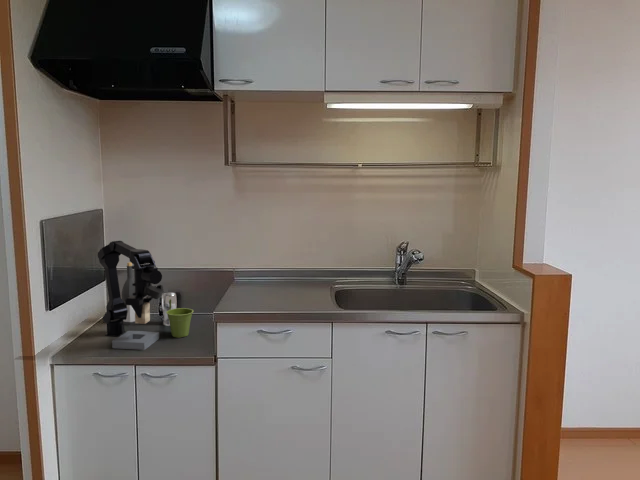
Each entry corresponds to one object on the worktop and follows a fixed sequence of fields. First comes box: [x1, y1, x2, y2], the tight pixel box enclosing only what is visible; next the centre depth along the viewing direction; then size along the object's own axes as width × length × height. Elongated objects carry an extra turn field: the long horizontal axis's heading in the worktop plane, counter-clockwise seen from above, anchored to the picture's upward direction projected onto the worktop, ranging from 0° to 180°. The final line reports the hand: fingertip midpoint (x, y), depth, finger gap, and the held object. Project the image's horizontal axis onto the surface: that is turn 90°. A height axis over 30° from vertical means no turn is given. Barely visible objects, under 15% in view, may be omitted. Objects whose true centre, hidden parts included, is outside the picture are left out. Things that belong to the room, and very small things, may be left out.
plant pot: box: [166, 307, 194, 338], centre depth 212 cm, size 12×12×11 cm
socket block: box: [111, 330, 160, 351], centre depth 201 cm, size 14×14×3 cm
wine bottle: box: [121, 261, 139, 326], centre depth 228 cm, size 8×8×30 cm
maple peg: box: [135, 302, 151, 325], centre depth 198 cm, size 4×4×8 cm
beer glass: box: [161, 291, 178, 327], centre depth 228 cm, size 7×7×15 cm
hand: (142, 316), depth 198 cm, fingers closed on maple peg, 4 cm apart
